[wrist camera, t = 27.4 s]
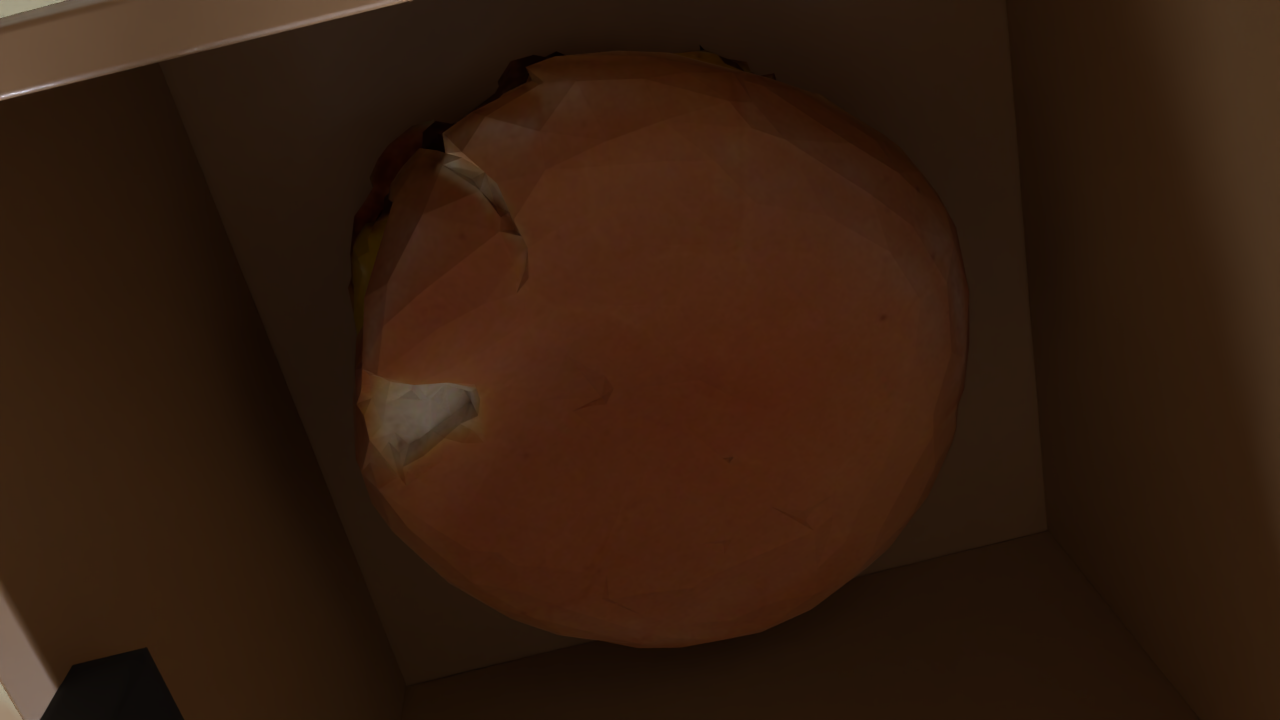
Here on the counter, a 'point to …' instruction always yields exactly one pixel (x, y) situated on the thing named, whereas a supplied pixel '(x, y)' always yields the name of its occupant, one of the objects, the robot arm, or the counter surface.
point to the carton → (591, 669)
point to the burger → (653, 346)
